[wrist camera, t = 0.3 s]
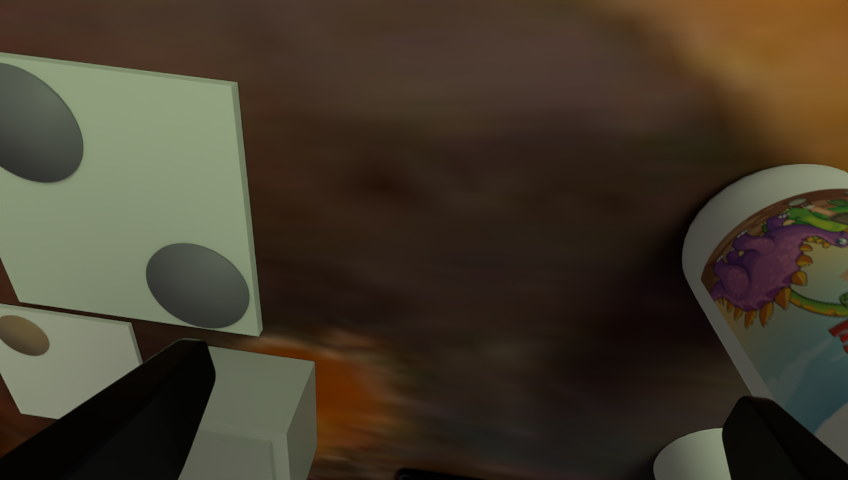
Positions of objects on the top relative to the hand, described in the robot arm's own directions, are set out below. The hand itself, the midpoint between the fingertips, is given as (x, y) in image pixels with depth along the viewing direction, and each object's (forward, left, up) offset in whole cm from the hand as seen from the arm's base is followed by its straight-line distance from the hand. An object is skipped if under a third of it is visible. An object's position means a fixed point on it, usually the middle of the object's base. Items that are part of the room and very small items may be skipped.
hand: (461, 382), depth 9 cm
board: (-7, +17, -15) cm, 23 cm away
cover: (-20, +11, -15) cm, 27 cm away
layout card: (-20, +23, -15) cm, 34 cm away
